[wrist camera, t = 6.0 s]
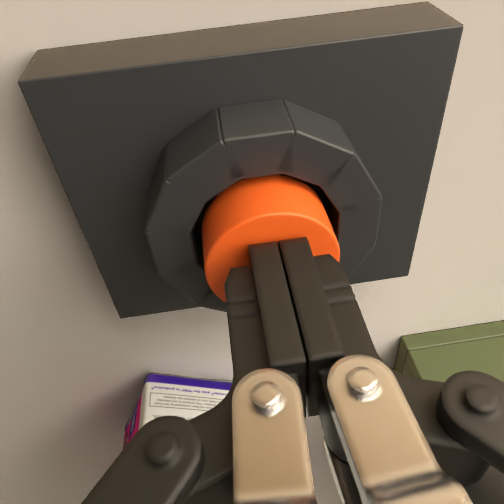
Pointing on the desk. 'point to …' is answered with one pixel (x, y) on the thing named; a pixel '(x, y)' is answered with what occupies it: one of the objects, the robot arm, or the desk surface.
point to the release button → (261, 223)
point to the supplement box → (174, 399)
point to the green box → (453, 352)
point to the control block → (245, 137)
